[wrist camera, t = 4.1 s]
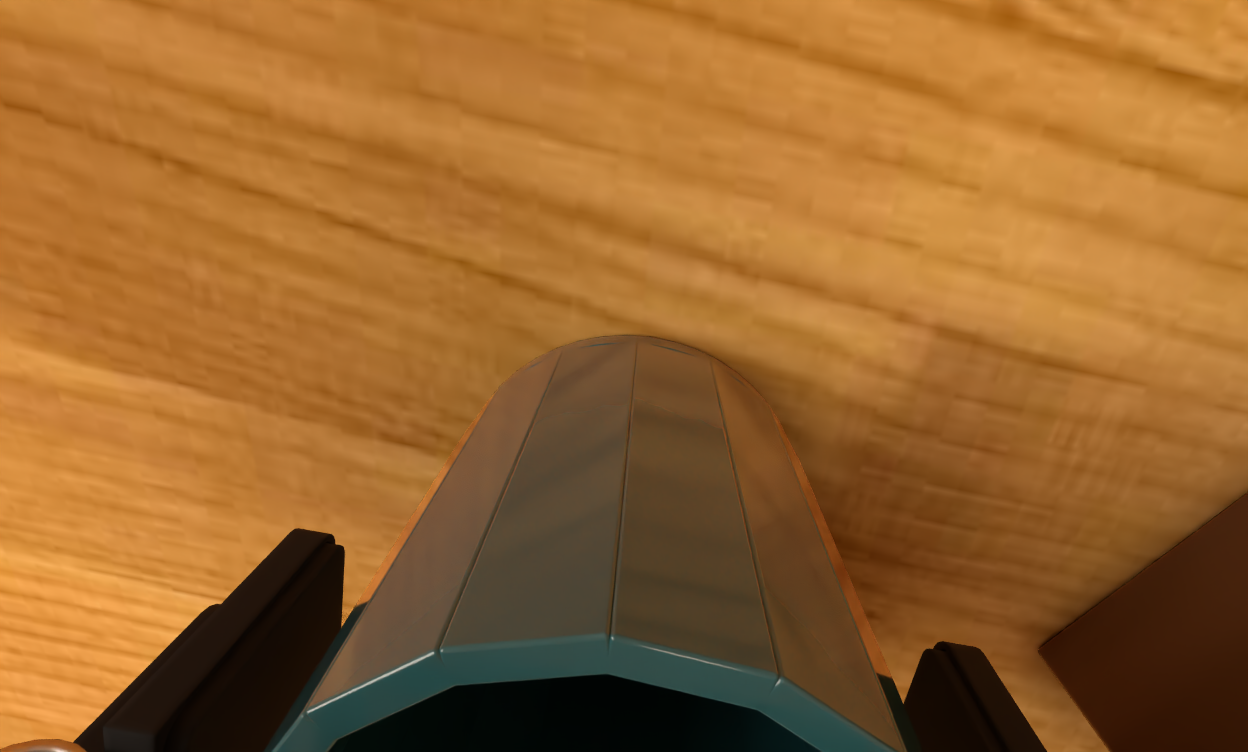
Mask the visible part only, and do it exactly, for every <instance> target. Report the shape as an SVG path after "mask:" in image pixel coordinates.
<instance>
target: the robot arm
mask: <svg viewBox="0 0 1248 752" xmlns="http://www.w3.org/2000/svg"><path fill="white" fill-rule="evenodd" d="M344 560H345V550H344V547H343V546H341V545H335V539H334V536H333V535H332V534H327V533H322V532H316V531H310V530H304V529H299V528H298V529H294V530H293V531H291V532H290V533H289V534H288V535H287V536H286V537H285V538H284V539H283V540H282V541H281V543H280V544H279V545H278V546H277V547H276V548H275V549H274V550H273V551H272V552H271V553H270V554H269V555H268V556H267V557H266V558H265V559H264V560H263V561H262V562H261V563H260V564H259V565H258V566H257V567H256V568H255V569H254V571H253V572H252V573H251V574H250V575H249V576H248V577H247V578H246V579H245V580H244V581H243V582H242V583H241V584H240V585H239V586H238V587H237V588H236V589H235V590H234V591H233V592H232V593H231V594H230V595H229V596H228V597H227V599H226V600H225V601H224V602H223V603H222V604H215V605H212V606H209V607H208V608H207V609H205V610H204V611H203V612H202V613H201V614H200V615H199V616H198V617H197V618H196V619H195V620H194V621H193V622H192V623H191V624H190V625H189V626H188V627H187V628H186V629H185V630H184V631H183V632H182V633H181V634H180V635H179V636H178V637H177V638H176V639H175V640H174V641H173V642H172V643H171V644H170V645H169V646H168V647H167V648H166V649H165V650H164V651H163V652H162V653H161V654H160V655H159V656H158V657H157V658H156V659H155V660H154V661H153V662H152V663H151V664H150V665H149V666H148V667H147V668H146V669H145V670H144V671H143V672H142V673H141V674H140V675H139V676H138V677H137V678H136V679H135V680H134V681H133V682H132V683H131V684H130V685H129V686H128V687H127V688H126V689H125V690H124V691H123V692H122V693H121V694H120V695H119V696H118V697H117V698H116V699H115V700H114V702H113V703H112V704H111V705H110V706H109V707H108V708H107V709H106V710H105V711H104V712H103V713H102V714H101V715H100V716H99V717H98V718H97V719H96V720H95V721H94V722H93V723H92V724H91V725H90V726H89V727H88V728H87V729H86V730H85V731H84V732H83V733H82V734H81V735H80V736H79V737H78V738H77V739H76V740H75V741H74V742H73V743H72V742H68V741H64V740H60V739H41V740H32V741H28V742H23V743H18V744H13V745H10V746H7V747H5V748H2V749H0V752H264V750H265V748H266V747H267V745H268V744H269V742H270V740H271V739H272V737H273V736H274V734H275V733H276V731H277V729H278V728H279V726H280V725H281V723H282V721H283V720H284V718H285V717H286V715H287V714H288V712H289V710H290V709H291V707H292V706H293V704H294V702H295V701H296V699H297V698H298V696H299V694H300V693H301V691H302V690H303V688H304V687H305V685H306V683H307V682H308V680H309V679H310V677H311V675H312V674H313V672H314V671H315V669H316V668H317V666H318V664H319V663H320V661H321V660H322V658H323V656H324V655H325V653H326V652H327V650H328V648H329V647H330V645H331V644H332V642H333V641H334V639H335V637H336V636H337V634H338V633H339V631H340V629H341V620H342V600H343V580H344ZM903 705H904V707H905V709H906V712H907V714H908V716H909V719H910V721H911V723H912V726H913V728H914V730H915V733H916V735H917V737H918V740H919V742H920V744H921V747H922V749H923V752H1047V751H1046V749H1045V748H1044V746H1043V745H1042V743H1041V742H1040V740H1039V738H1038V737H1037V735H1036V734H1035V732H1034V731H1033V729H1032V728H1031V726H1030V725H1029V723H1028V721H1027V720H1026V718H1025V717H1024V715H1023V714H1022V712H1021V711H1020V709H1019V707H1018V706H1017V704H1016V703H1015V701H1014V700H1013V698H1012V697H1011V695H1010V693H1009V692H1008V690H1007V689H1006V687H1005V686H1004V684H1003V683H1002V681H1001V679H1000V678H999V676H998V675H997V673H996V672H995V670H994V669H993V667H992V666H991V664H990V662H989V661H988V659H987V658H986V656H985V655H984V653H983V652H982V651H981V650H980V649H979V648H976V647H973V646H967V645H961V644H955V643H950V642H944V641H941V642H938V643H937V644H936V645H935V646H934V648H933V649H926V650H925V651H924V652H923V654H922V656H921V659H920V661H919V664H918V667H917V669H916V672H915V675H914V677H913V680H912V683H911V686H910V688H909V691H908V694H907V696H906V699H905V702H904V704H903Z"/></svg>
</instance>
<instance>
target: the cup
mask: <svg viewBox="0 0 1248 752" xmlns="http://www.w3.org/2000/svg"><path fill="white" fill-rule="evenodd" d="M264 752H923V749H922V747H921V744H920V742H919V740H918V737H917V735H916V733H915V730H914V728H913V726H912V723H911V721H910V719H909V716H908V714H907V712H906V709H905V707H904V705H903V702H902V700H901V698H900V695H899V693H898V690H897V688H896V686H895V683H894V681H893V679H892V676H891V674H890V672H889V669H888V667H887V665H886V662H885V660H884V658H883V655H882V653H881V651H880V648H879V646H878V643H877V641H876V639H875V636H874V634H873V632H872V629H871V627H870V625H869V622H868V620H867V618H866V615H865V613H864V611H863V608H862V606H861V604H860V601H859V599H858V597H857V594H856V592H855V589H854V587H853V585H852V582H851V580H850V578H849V575H848V573H847V571H846V568H845V566H844V564H843V561H842V559H841V557H840V554H839V552H838V550H837V547H836V545H835V543H834V540H833V538H832V535H831V533H830V531H829V528H828V526H827V524H826V521H825V519H824V517H823V514H822V512H821V510H820V507H819V505H818V503H817V500H816V498H815V496H814V493H813V491H812V489H811V486H810V484H809V481H808V479H807V477H806V474H805V472H804V470H803V467H802V465H801V463H800V460H799V458H798V457H797V455H796V453H795V451H794V449H793V448H792V446H791V444H790V442H789V440H788V438H787V436H786V434H785V432H784V430H783V428H782V426H781V423H780V421H779V420H778V418H777V417H776V415H775V414H774V412H773V410H772V409H771V407H770V406H769V404H768V403H767V402H766V401H765V399H764V398H763V397H762V396H761V395H760V394H759V393H758V391H757V390H756V389H755V388H754V387H753V386H752V385H751V384H750V383H749V382H747V381H746V380H745V379H744V378H743V377H742V376H740V375H739V374H738V373H737V372H736V371H734V370H733V369H731V368H730V367H728V366H727V365H725V364H723V363H722V362H720V361H719V360H717V359H716V358H713V357H711V356H709V355H707V354H705V353H703V352H701V351H699V350H697V349H694V348H691V347H688V346H685V345H682V344H679V343H676V342H673V341H668V340H663V339H658V338H653V337H644V336H630V335H621V336H604V337H597V338H592V339H587V340H581V341H577V342H574V343H571V344H568V345H565V346H562V347H559V348H556V349H554V350H552V351H550V352H548V353H546V354H543V355H541V356H539V357H537V358H535V359H534V360H532V361H531V362H529V363H528V364H526V365H525V366H523V367H522V368H520V369H519V370H517V371H516V372H515V373H514V374H513V375H511V376H510V377H509V378H508V379H507V380H506V381H505V382H503V383H502V384H501V385H500V386H499V388H498V389H497V390H496V391H495V392H494V393H493V395H492V396H491V397H490V398H489V399H488V400H487V402H486V404H485V405H484V407H483V408H482V410H481V411H480V413H479V414H478V416H477V417H476V418H475V420H474V421H473V422H472V424H471V425H470V426H469V428H468V429H467V430H466V432H465V433H464V434H463V436H462V437H461V439H460V441H459V442H458V444H457V445H456V447H455V449H454V450H453V452H452V453H451V455H450V456H449V458H448V460H447V461H446V463H445V464H444V466H443V468H442V469H441V471H440V472H439V474H438V476H437V477H436V479H435V480H434V482H433V483H432V485H431V487H430V488H429V490H428V491H427V493H426V495H425V496H424V498H423V499H422V501H421V503H420V504H419V506H418V507H417V509H416V510H415V512H414V514H413V515H412V517H411V518H410V520H409V522H408V523H407V525H406V526H405V528H404V529H403V531H402V533H401V534H400V536H399V537H398V539H397V541H396V542H395V544H394V545H393V547H392V549H391V550H390V552H389V553H388V555H387V556H386V558H385V560H384V561H383V563H382V564H381V566H380V568H379V569H378V571H377V572H376V574H375V575H374V577H373V579H372V580H371V582H370V583H369V585H368V587H367V588H366V590H365V591H364V593H363V595H362V596H361V598H360V599H359V601H358V602H357V604H356V606H355V607H354V609H353V610H352V612H351V614H350V615H349V617H348V618H347V620H346V621H345V623H344V625H343V626H342V628H341V629H340V631H339V633H338V634H337V636H336V637H335V639H334V641H333V642H332V644H331V645H330V647H329V648H328V650H327V652H326V653H325V655H324V656H323V658H322V660H321V661H320V663H319V664H318V666H317V668H316V669H315V671H314V672H313V674H312V675H311V677H310V679H309V680H308V682H307V683H306V685H305V687H304V688H303V690H302V691H301V693H300V694H299V696H298V698H297V699H296V701H295V702H294V704H293V706H292V707H291V709H290V710H289V712H288V714H287V715H286V717H285V718H284V720H283V721H282V723H281V725H280V726H279V728H278V729H277V731H276V733H275V734H274V736H273V737H272V739H271V740H270V742H269V744H268V745H267V747H266V748H265V750H264Z"/></svg>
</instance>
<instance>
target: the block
mask: <svg viewBox="0 0 1248 752" xmlns="http://www.w3.org/2000/svg"><path fill="white" fill-rule="evenodd" d="M1038 652H1039V655H1040V656H1041V658H1042V659H1043V660H1044V662H1045V663H1046V664H1047V666H1048V667H1049V669H1050V670H1051V671H1052V673H1053V674H1054V675H1055V677H1056V678H1057V680H1058V681H1059V682H1060V684H1061V685H1062V687H1063V688H1064V689H1065V691H1066V692H1067V693H1068V695H1069V696H1070V698H1071V699H1072V700H1073V702H1074V703H1075V704H1076V706H1077V707H1078V709H1079V710H1080V711H1081V713H1082V714H1083V716H1084V717H1085V718H1086V720H1087V721H1088V722H1089V724H1090V725H1091V727H1092V728H1093V729H1094V731H1095V732H1096V734H1097V735H1098V736H1099V738H1100V739H1101V740H1102V742H1103V743H1104V745H1105V746H1106V747H1107V749H1108V750H1109V751H1110V752H1248V493H1247V494H1245V495H1244V496H1243V497H1241V498H1240V499H1239V500H1237V501H1236V502H1235V503H1233V504H1232V505H1231V506H1229V507H1228V508H1227V509H1225V510H1224V511H1222V512H1221V513H1220V514H1218V515H1217V516H1216V517H1214V518H1213V519H1212V520H1210V521H1209V522H1208V523H1206V524H1205V525H1204V526H1202V527H1201V528H1200V529H1198V530H1197V531H1196V532H1194V533H1193V534H1192V535H1190V536H1189V537H1188V538H1186V539H1185V540H1184V541H1182V542H1181V543H1180V544H1178V545H1177V546H1176V547H1174V548H1173V549H1172V550H1170V551H1169V552H1168V553H1166V554H1165V555H1164V556H1162V557H1161V558H1160V559H1158V560H1157V561H1156V562H1154V563H1153V564H1152V565H1150V566H1149V567H1148V568H1146V569H1145V570H1144V571H1142V572H1141V573H1139V574H1138V575H1137V576H1135V577H1134V578H1133V579H1131V580H1130V581H1129V582H1127V583H1126V584H1125V585H1123V586H1122V587H1121V588H1119V589H1118V590H1117V591H1115V592H1114V593H1113V594H1111V595H1110V596H1109V597H1107V598H1106V599H1105V600H1103V601H1102V602H1101V603H1099V604H1098V605H1097V606H1095V607H1094V608H1093V609H1091V610H1090V611H1089V612H1087V613H1086V614H1085V615H1083V616H1082V617H1081V618H1079V619H1078V620H1077V621H1075V622H1074V623H1073V624H1071V625H1070V626H1069V627H1067V628H1066V629H1065V630H1063V631H1062V632H1061V633H1059V634H1058V635H1056V636H1055V637H1054V638H1052V639H1051V640H1050V641H1048V642H1047V643H1046V644H1044V645H1043V646H1042V647H1040V648H1039V650H1038Z"/></svg>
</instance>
